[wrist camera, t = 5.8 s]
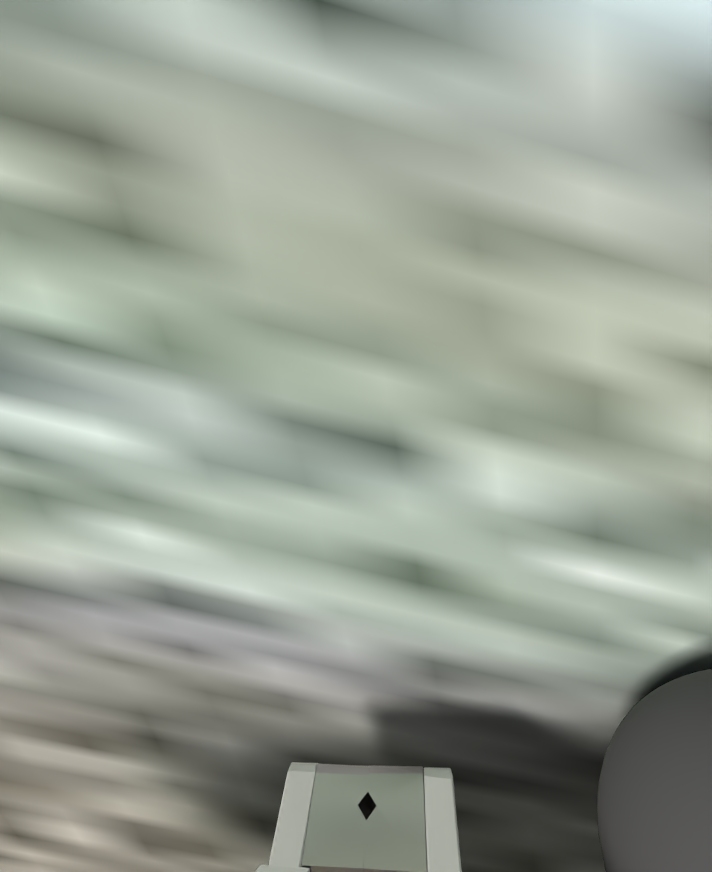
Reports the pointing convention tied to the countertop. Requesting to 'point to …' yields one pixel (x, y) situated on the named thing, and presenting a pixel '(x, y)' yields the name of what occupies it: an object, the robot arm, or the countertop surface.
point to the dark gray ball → (660, 782)
